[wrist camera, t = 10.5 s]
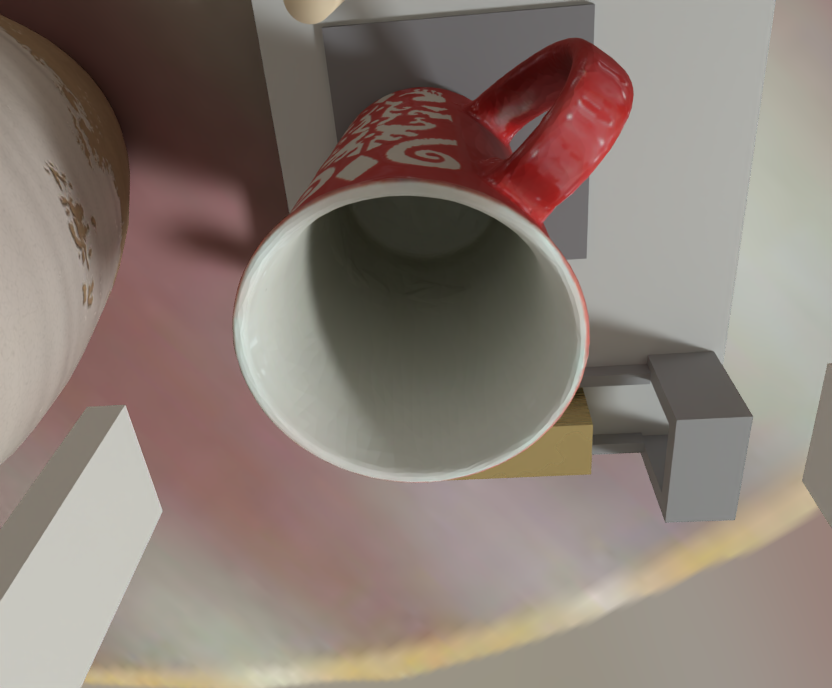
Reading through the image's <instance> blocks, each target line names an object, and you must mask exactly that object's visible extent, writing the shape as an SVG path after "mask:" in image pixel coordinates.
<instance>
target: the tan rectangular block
mask: <svg viewBox="0 0 832 688" xmlns="http://www.w3.org/2000/svg"><path fill="white" fill-rule="evenodd" d="M592 439H593V423H592V419H591V416H590V412H589V409H588V405H587V401H586V398H585V394H584V391H583V387H582V388H578V390H577V391H576V393H575V395H574V397H573V399H572V401H571V402H570V404H569V406H568V407H567V409H566V410H565V412H564V413H563V414H562V416H561V417H560V418H559V420H558V421H557V422H556V423H555V424H554V425H553V426H552V427H551V428H550V429H549V430H548V431H547V432H546V433H545V434H544V435H543V436H542V437H541V438H540V439H539V440H538V441H536V442H535V443H534V444H533V445H531V446H530V447H529V448H527V449H526V450H525V451H523V452H521V453H520V454H518V455H516V456H515V457H513V458H511V459H510V460H508V461H506V462H504V463H502V464H500V465H498V466H495V467H493V468H490V469H488V470H485V471H483V472H480V473H476V474H473V475H470V476H467V477H462V478H457V479H452V480H466V479H490V478H514V477H538V476H562V475H586V474H591V462H592Z"/></svg>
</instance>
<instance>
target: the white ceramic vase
mask: <svg viewBox="0 0 832 688" xmlns="http://www.w3.org/2000/svg"><path fill="white" fill-rule="evenodd" d="M129 194H130V169H129V161H128V153H127V149H126V145H125V142H124V138H123V135H122V131H121V128H120V125H119V123H118V121H117V118H116V116H115V114H114V111H113V109H112V107H111V106H110V104H109V102H108V101H107V99H106V97H105V96H104V94H103V93H102V91H101V90H100V88H99V87H98V86H97V85H96V83H95V82H94V81H93V80H92V78H91V77H90V76H89V75H88V73H87V72H86V71H85V70H84V69H82V68H81V67H80V66H79V65H78V64H77V63H76V62H75V61H74V60H73V59H72V58H71V57H70V56H69V55H67V54H66V53H65V52H63V51H62V50H61V49H60V48H58V47H57V46H56V45H54V44H53V43H52V42H50V41H49V40H48V39H46V38H44V37H43V36H41V35H39V34H37V33H36V32H34V31H32V30H30V29H29V28H27V27H25V26H23V25H21V24H19V23H17V22H15V21H13V20H10V19H8V18H6V17H4V16H2V15H0V465H1V464H2V463H3V462H4V461H5V460H6V459H7V458H8V457H9V456H11V455H12V454H13V453H14V452H15V451H16V450H17V449H18V447H19V446H20V445H21V444H22V443H23V442H24V440H25V439H26V438H27V437H28V436H29V435H30V433H31V432H32V431H33V430H34V429H35V427H36V426H37V425H38V423H39V422H40V421H41V419H42V418H43V416H44V415H45V414H46V412H47V411H48V410H49V408H50V407H51V405H52V404H53V403H54V401H55V400H56V398H57V397H58V395H59V394H60V393H61V391H62V390H63V388H64V387H65V385H66V384H67V383H68V381H69V379H70V378H71V376H72V374H73V372H74V370H75V368H76V367H77V365H78V363H79V361H80V359H81V357H82V355H83V353H84V351H85V349H86V347H87V345H88V342H89V340H90V338H91V336H92V334H93V332H94V329H95V327H96V325H97V323H98V320H99V318H100V316H101V313H102V311H103V309H104V307H105V304H106V302H107V300H108V297H109V295H110V293H111V290H112V288H113V285H114V282H115V279H116V276H117V273H118V269H119V266H120V262H121V257H122V253H123V248H124V244H125V239H126V234H127V229H128V223H129Z"/></svg>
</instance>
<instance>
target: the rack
mask: <svg viewBox="0 0 832 688" xmlns="http://www.w3.org/2000/svg"><path fill="white" fill-rule="evenodd" d="M775 2H776V0H252V6H253V12H254V17H255V23H256V28H257V34H258V40H259V45H260V51H261V56H262V62H263V68H264V73H265V79H266V84H267V90H268V96H269V101H270V107H271V112H272V118H273V124H274V129H275V135H276V140H277V146H278V152H279V157H280V163H281V169H282V174H283V180H284V185H285V191H286V197H287V202H288V208H289V213H290V212H291V210H292V209H293V207H294V206H295V204H296V203H297V201H298V200H299V198H300V197H301V196H302V195H303V193H304V192H305V191H306V189H307V188H308V186H309V185H310V183H311V182H312V180H313V179H314V177H315V176H316V174H317V172H318V170H319V169H320V167H321V166H322V165H323V164H324V162H325V161H326V160H327V159H328V157H329V156H330V154H331V153H332V151H333V150H334V148H335V147H336V145H337V144H338V142H339V141H340V139H341V138H342V136H343V135H344V133H345V132H346V130H347V129H348V127H349V126H350V125H351V123H352V122H353V121H354V120H355V118H356V117H357V116H358V115H359V114H360V113H361V112H362V111H363V110H364V109H366V108H367V107H368V106H370V105H371V104H372V103H374V102H375V101H377V100H379V99H381V98H382V97H384V96H387V95H389V94H391V93H393V92H396V91H399V90H404V89H408V88H415V87H433V88H441V89H445V90H449V91H452V92H455V93H457V94H460V95H462V96H465V97H466V98H468V99H470V100H472V101H473V100H475V99H476V98H478V97H479V95H481V94H482V93H483V92H484V91H485V90H487V89H488V88H489V87H490V86H491V85H493V84H494V83H495V82H496V81H497V80H499V79H500V78H501V77H503V76H504V75H505V74H506V73H508V72H509V71H510V70H512V69H513V68H515V67H516V66H517V65H519V64H520V63H521V62H523V61H525V60H526V59H528V58H529V57H530V56H532V55H533V54H535V53H537V52H538V51H540V50H542V49H543V48H545V47H547V46H549V45H551V44H553V43H555V42H558V41H561V40H564V39H567V38H581V39H584V40H586V41H588V42H590V43H592V44H593V45H595V46H597V47H598V48H599V49H601V50H602V51H603V52H605V53H606V54H608V55H609V56H610V57H612V58H613V59H614V60H615V61H616V62H617V63H618V64H619V65H620V66H621V67H622V68H623V69H624V70H625V71H626V72H627V74H628V75H629V77H630V80H631V82H632V85H633V91H634V96H633V104H632V109H631V112H630V115H629V118H628V119H627V121H626V123H625V125H624V127H623V129H622V131H621V133H620V135H619V137H618V138H617V140H616V141H615V143H614V145H613V146H612V148H611V149H610V151H609V152H608V153H607V154H606V156H605V157H604V159H603V160H602V161H601V163H600V164H599V165H598V166H597V167H596V169H595V170H594V171H593V172H592V173H591V174H590V176H589V177H588V178H587V179H586V180H585V181H584V182H583V183H582V184H581V185H580V186H579V187H578V188H577V189H576V190H575V191H574V193H573V194H571V195H570V196H569V197H568V198H566V199H565V200H564V201H563V202H562V203H561V204H559V205H558V206H556V207H555V209H554V210H553V211H552V213H551V214H550V215H549V216H548V217H547V218H546V219H545V221H544V222H543V223H544V225H545V227H546V230H547V232H548V235H549V237H550V239H551V240H552V241H553V243H554V244H555V245H556V246H557V248H558V249H559V250H560V251H561V253H562V254H563V256H564V257H565V259H566V260H567V261H568V263H569V264H570V266H571V268H572V270H573V271H574V273H575V275H576V277H577V279H578V281H579V284H580V286H581V289H582V292H583V295H584V298H585V301H586V305H587V310H588V315H589V326H590V344H589V355H588V359H587V363H586V367H585V370H584V374H583V377H582V380H581V383H580V385H579V387H578V388H582V387H583V391H584V394H585V398H586V401H587V405H588V409H589V412H590V416H591V419H592V423H593V439H592V455H594V454H617V453H639V452H641V455H642V458H643V461H644V464H645V466H646V469H647V472H648V475H649V478H650V481H651V483H652V486H653V489H654V492H655V495H656V498H657V500H658V503H659V506H660V509H661V512H662V515H663V517H664V520H665V523H667V522H694V521H722V520H735V517H736V511H737V505H738V500H739V494H740V488H741V483H742V477H743V471H744V466H745V460H746V454H747V448H748V443H749V437H750V431H751V426H752V420H753V416H752V414H751V412H750V411H749V409H748V407H747V406H746V404H745V402H744V401H743V399H742V397H741V396H740V394H739V392H738V391H737V389H736V387H735V386H734V384H733V382H732V381H731V379H730V377H729V376H728V374H727V372H726V370H725V369H724V367H723V362H724V355H725V348H726V341H727V334H728V327H729V320H730V314H731V307H732V300H733V293H734V286H735V279H736V272H737V265H738V258H739V251H740V244H741V237H742V230H743V223H744V216H745V210H746V203H747V196H748V189H749V182H750V175H751V168H752V161H753V154H754V147H755V140H756V133H757V126H758V119H759V112H760V106H761V99H762V92H763V85H764V78H765V71H766V64H767V57H768V50H769V43H770V36H771V29H772V22H773V15H774V8H775ZM548 111H549V110H548ZM548 111H546V112H544V113H543V114H541V115H540V116H538V117H536V118H535V119H533V120H532V121H530V122H529V123H527V124H526V125H525V126H524V127H523V128H522V129H521V130H520V131H518V132H517V134H516V135H515V136H514V137H513V138H512V140H511V142H510V147H511V150H512V153H513V152H514V151H515V150H517V149H518V147H519V146H520V145H521V144H522V143H523V142H524V141H525V140H526V139H527V137H528V136H529V135H530V134H531V133H532V132H533V131H534V130H535V128H536V127H537V126H538V125H539V124H540V122H541V120H542V118H543V117H544V116H545V114H546V113H547V112H548Z"/></svg>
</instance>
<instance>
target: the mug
mask: <svg viewBox="0 0 832 688" xmlns="http://www.w3.org/2000/svg"><path fill="white" fill-rule="evenodd" d="M633 96H634V91H633V85H632V82H631V80H630V77H629V75H628V74H627V72H626V71H625V70H624V69H623V68H622V67H621V66H620V65H619V64H618V63H617V62H616V61H615V60H614V59H613V58H612V57H610V56H609V55H608V54H606V53H605V52H603V51H602V50H601V49H599V48H598V47H597V46H595V45H593V44H592V43H590V42H588V41H586V40H584V39H581V38H567V39H564V40H561V41H558V42H555V43H553V44H551V45H549V46H547V47H545V48H543V49H542V50H540V51H538V52H537V53H535V54H533V55H532V56H530V57H529V58H528V59H526V60H525V61H523V62H521V63H520V64H519V65H517V66H516V67H515V68H513V69H512V70H510V71H509V72H508V73H506V74H505V75H504V76H503V77H501V78H500V79H499V80H497V81H496V82H495V83H494V84H493V85H491V86H490V87H489V88H488V89H487V90H485V91H484V92H483V93H482V94H481V95H479V97H478V98H476V99H475V100H473V101H472V100H470V99H468V98H466V97H465V96H462V95H460V94H457V93H455V92H452V91H449V90H445V89H441V88H433V87H415V88H408V89H404V90H399V91H396V92H393V93H391V94H389V95H387V96H384V97H382V98H381V99H379V100H377V101H375V102H374V103H372V104H371V105H370V106H368V107H367V108H366V109H364V110H363V111H362V112H361V113H360V114H359V115H358V116H357V117H356V118H355V120H354V121H353V122H352V123H351V125H350V126H349V127H348V129H347V130H346V132H345V133H344V135H343V136H342V138H341V139H340V141H339V142H338V144H337V145H336V147H335V148H334V150H333V151H332V153H331V154H330V156H329V157H328V159H327V160H326V161H325V162H324V164H323V165H322V166H321V167H320V169H319V170H318V172H317V174H316V176H315V177H314V179H313V180H312V182H311V183H310V185H309V186H308V188H307V189H306V191H305V192H304V193H303V195H302V196H301V197H300V198H299V200H298V201H297V203H296V204H295V206H294V207H293V209H292V210H291V212H290V214H289V215H288V216H286V217H285V218H284V219H283V220H282V221H281V222H280V223H279V224H277V225H276V226H275V227H274V228H273V229H272V230H271V231H270V232H269V233H268V234H267V236H266V237H265V238H264V239H263V240H262V241H261V243H260V244H259V246H258V247H257V249H256V250H255V252H254V254H253V255H252V257H251V259H250V261H249V262H248V264H247V266H246V268H245V270H244V272H243V274H242V277H241V279H240V282H239V286H238V289H237V294H236V298H235V303H234V310H233V319H232V329H233V344H234V349H235V354H236V357H237V359H238V363H239V366H240V370H241V373H242V375H243V377H244V379H245V381H246V383H247V385H248V388H249V390H250V391H251V393H252V395H253V396H254V398H255V400H256V401H257V403H258V404H259V406H260V407H261V408H262V410H263V411H264V412H265V414H266V415H267V416H268V417H269V418H270V420H271V421H272V422H273V423H274V424H275V425H276V426H277V427H278V428H279V429H280V430H281V431H282V432H283V433H284V434H285V435H287V436H288V437H289V438H290V439H291V440H292V441H294V442H295V443H296V444H297V445H299V446H301V447H302V448H304V449H305V450H307V451H308V452H310V453H312V454H313V455H315V456H317V457H319V458H320V459H322V460H324V461H326V462H328V463H330V464H333V465H335V466H337V467H340V468H342V469H344V470H347V471H350V472H353V473H356V474H360V475H363V476H367V477H372V478H376V479H381V480H387V481H396V482H409V483H419V482H437V481H445V480H452V479H457V478H462V477H467V476H470V475H473V474H476V473H480V472H483V471H485V470H488V469H490V468H493V467H495V466H498V465H500V464H502V463H504V462H506V461H508V460H510V459H511V458H513V457H515V456H516V455H518V454H520V453H521V452H523V451H525V450H526V449H527V448H529V447H530V446H531V445H533V444H534V443H535V442H536V441H538V440H539V439H540V438H541V437H542V436H543V435H544V434H545V433H546V432H547V431H548V430H549V429H550V428H551V427H552V426H553V425H554V424H555V423H556V422H557V421H558V420H559V418H560V417H561V416H562V414H563V413H564V412H565V410H566V409H567V407H568V406H569V404H570V402H571V401H572V399H573V397H574V395H575V393H576V391H577V390H578V387H579V385H580V383H581V380H582V377H583V374H584V370H585V367H586V363H587V359H588V355H589V344H590V326H589V315H588V310H587V305H586V301H585V298H584V295H583V292H582V289H581V286H580V284H579V281H578V279H577V277H576V275H575V273H574V271H573V270H572V268H571V266H570V264H569V263H568V261H567V260H566V259H565V257H564V256H563V254H562V253H561V251H560V250H559V249H558V248H557V246H556V245H555V244H554V243H553V241H552V240H551V239H550V237H549V235H548V232H547V230H546V227H545V225H544V223H543V222H544V221H545V219H546V218H547V217H548V216H549V215H550V214H551V213H552V211H553V210H554V209H555V207H556V206H558V205H559V204H561V203H562V202H563V201H564V200H565V199H566V198H568V197H569V196H570V195H571V194H573V193H574V191H575V190H576V189H577V188H578V187H579V186H580V185H581V184H582V183H583V182H584V181H585V180H586V179H587V178H588V177H589V176H590V174H591V173H592V172H593V171H594V170H595V169H596V167H597V166H598V165H599V164H600V163H601V161H602V160H603V159H604V157H605V156H606V154H607V153H608V152H609V151H610V149H611V148H612V146H613V145H614V143H615V141H616V140H617V138H618V137H619V135H620V133H621V131H622V129H623V127H624V125H625V123H626V121H627V119H628V118H629V115H630V112H631V109H632V104H633ZM548 110H549V111H548ZM546 111H548V112H547V113H546V114H545V116H544V117H543V118H542V120H541V122H540V124H539V125H538V126H537V127H536V128H535V130H534V131H533V132H532V133H531V134H530V135H529V136H528V137H527V139H526V140H525V141H524V142H523V143H522V144H521V145H520V146H519V147H518V149H517V150H515V151H514V152H513V153H512V150H511V147H510V142H511V140H512V138H513V137H514V136H515V135H516V134H517V132H518V131H520V130H521V129H522V128H523V127H524V126H525V125H526V124H527V123H529V122H530V121H532V120H533V119H535V118H536V117H538V116H540V115H541V114H543V113H544V112H546Z"/></svg>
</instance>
